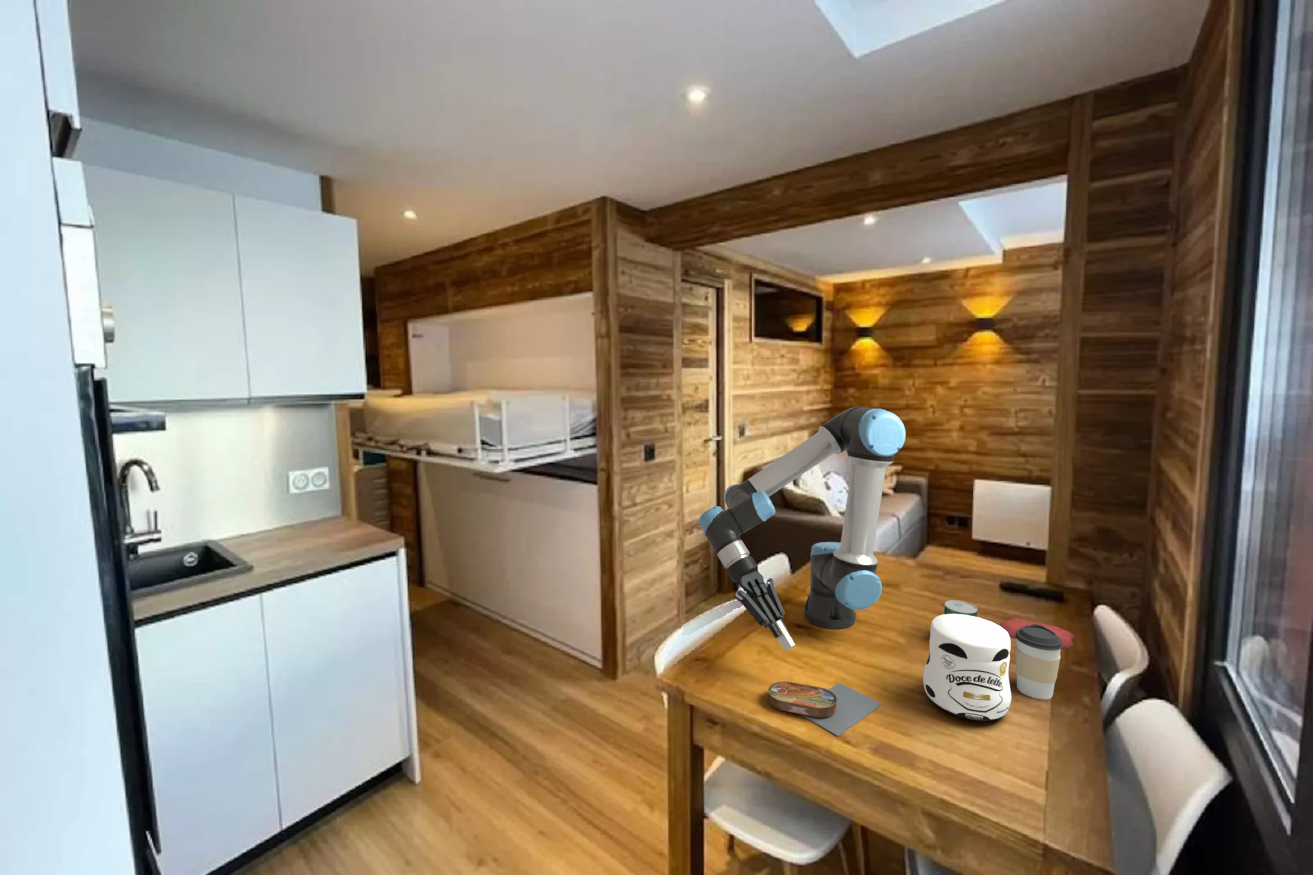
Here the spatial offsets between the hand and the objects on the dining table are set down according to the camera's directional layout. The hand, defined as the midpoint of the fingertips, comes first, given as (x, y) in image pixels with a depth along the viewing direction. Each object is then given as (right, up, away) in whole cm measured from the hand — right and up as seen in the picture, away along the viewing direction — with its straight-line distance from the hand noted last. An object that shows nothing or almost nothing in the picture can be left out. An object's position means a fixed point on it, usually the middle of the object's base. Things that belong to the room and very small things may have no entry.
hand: (790, 647), depth 134 cm
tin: (+3, -9, -4) cm, 10 cm away
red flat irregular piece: (+76, -6, +25) cm, 80 cm away
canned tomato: (+51, -7, +19) cm, 54 cm away
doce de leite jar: (+38, -10, -8) cm, 40 cm away
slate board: (+9, -10, -8) cm, 16 cm away
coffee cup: (+57, -9, -3) cm, 57 cm away
